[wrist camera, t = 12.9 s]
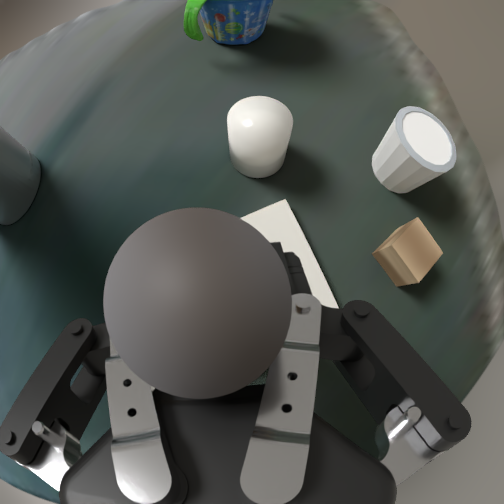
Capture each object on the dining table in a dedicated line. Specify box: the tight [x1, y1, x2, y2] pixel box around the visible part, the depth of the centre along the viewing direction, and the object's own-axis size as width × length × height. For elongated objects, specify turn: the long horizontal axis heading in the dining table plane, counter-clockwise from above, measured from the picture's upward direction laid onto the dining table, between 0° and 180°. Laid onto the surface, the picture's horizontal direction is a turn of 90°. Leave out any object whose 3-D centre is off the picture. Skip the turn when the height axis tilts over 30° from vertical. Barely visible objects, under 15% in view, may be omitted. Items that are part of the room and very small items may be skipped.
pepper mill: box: [103, 208, 292, 399], centre depth 12 cm, size 4×4×13 cm
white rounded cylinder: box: [227, 96, 293, 178], centre depth 24 cm, size 5×5×6 cm
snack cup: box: [184, 0, 273, 45], centre depth 25 cm, size 16×10×10 cm
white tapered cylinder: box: [372, 106, 456, 193], centre depth 24 cm, size 7×7×7 cm
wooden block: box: [372, 217, 443, 287], centre depth 24 cm, size 4×4×4 cm
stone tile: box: [240, 199, 339, 308], centre depth 24 cm, size 16×12×1 cm
